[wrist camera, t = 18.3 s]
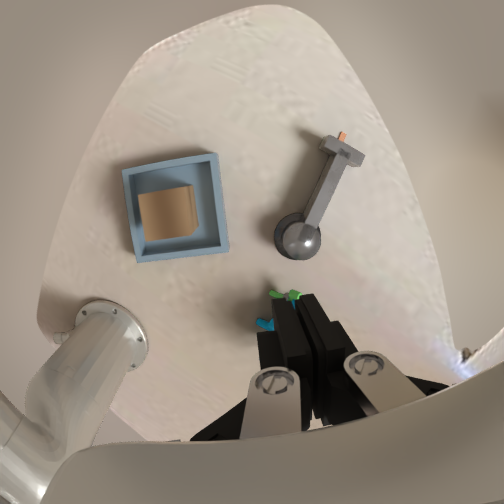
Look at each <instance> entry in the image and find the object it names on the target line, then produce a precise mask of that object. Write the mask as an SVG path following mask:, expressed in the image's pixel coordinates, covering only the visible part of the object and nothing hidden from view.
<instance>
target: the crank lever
mask: <svg viewBox="0 0 504 504" xmlns="http://www.w3.org/2000/svg"><path fill="white" fill-rule="evenodd" d="M319 149H321V150H322V151H324V152H326V153H328V154H330V157H329V159H328V161H327V163H326V165H325V168H324V170H323V172H322V174H321V176H320V178H319V181H318V183H317V185H316V187H315V189H314V191H313V193H312V196H311V198H310V200H309V202H308V204H307V206H306V208H305V211H304V213H303V215H302V217H301V219H300V220H295V221H292V222H290V223H289V224H287V225H286V226H285V228H284V229H283V231H282V234H281V242H282V245H283V247H284V248H285V250H286V251H287V253H288V254H289V255H290V256H291V257H292V258H294V259H296V260H307V259H310V258H312V257H313V256H314V255H315V254H316V253H317V252H318V250H319V248H320V245H321V237H320V234H319V232H318V231H317V227H318V225H319V223H320V221H321V219H322V217H323V214H324V212H325V210H326V208H327V206H328V204H329V202H330V200H331V197H332V195H333V193H334V191H335V189H336V187H337V184H338V182H339V180H340V178H341V176H342V173H343V171H344V169H345V167H346V165H347V164H348V165H350V166H351V167H360V166H361V164H362V162H363V159H364V157H365V155H364V154H363V153H361V152H359V151H358V150H356V149H354V148H353V147H351V146H349V145H347V144H346V143H344V142H342V141H340V140H339V139H337V138H335V137H333V136H331V135H328V136H326V137H323V140H322V142H321V144H320V146H319Z"/></svg>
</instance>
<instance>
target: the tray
mask: <svg viewBox="0 0 504 504" xmlns="http://www.w3.org/2000/svg"><path fill="white" fill-rule="evenodd" d="M122 177H123V185H124V193H125V200H126V206H127V213H128V219H129V225H130V230H131V236H132V241H133V246H134V251H135V256H136V261H137V263H142V262H150V261H158V260H167V259H175V258H183V257H192V256H200V255H208V254H217V253H225V252H229V240H228V232H227V225H226V217H225V209H224V201H223V193H222V184H221V176H220V168H219V159H218V154H217V153H210V154H203V155H197V156H190V157H184V158H178V159H173V160H167V161H162V162H157V163H151V164H147V165H142V166H137V167H132V168H128V169H123V170H122ZM191 185H193V187H194V195H195V202H196V209H197V216H198V222H199V226H198V227H197V229H196V230H195V231H194V232H193V233H192V235H190V236H183V237H176V238H169V239H162V240H155V241H148V242H146V241H145V235H144V230H143V224H142V218H141V212H140V206H139V200H138V195H140V194H145V193H151V192H156V191H161V190H167V189H173V188H179V187H185V186H191Z"/></svg>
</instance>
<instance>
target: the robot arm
mask: <svg viewBox="0 0 504 504" xmlns="http://www.w3.org/2000/svg"><path fill="white" fill-rule="evenodd" d="M272 312H273V323H274V331H266V332H258V333H257V341H258V349H259V358H260V367H261V370H260V371H259V372H257V373H256V374H255V375H254V376H253V377H252V378H251V381H250V384H249V390H248V395H247V398H245V399H244V400H243V401H241V402H240V403H239V404H237V405H236V406H235V407H233V408H232V409H231V410H229V411H228V412H227V413H225V414H224V415H223V416H221V417H220V418H218V419H217V420H216V421H214V422H213V423H211V424H210V425H208V426H207V427H206V428H204V429H203V430H201V431H200V432H198V433H197V434H196V435H194V436H193V437H192V438H191V439H190V441H188V442H181V440H180V439H179V440H172V441H165V442H159V441H139V442H119V443H109V444H104V445H97V446H92V444H93V441H94V439H95V437H96V434H97V432H98V430H99V428H100V426H101V424H102V422H103V419H104V417H105V415H106V413H107V411H108V409H109V407H110V405H111V403H112V401H113V399H114V397H115V395H116V393H117V391H118V389H119V387H120V385H121V383H122V381H123V379H124V377H125V375H126V373H127V372H129V371H133V370H135V369H137V368H138V367H139V366H140V365H141V364H142V363H143V361H144V360H145V358H146V355H147V352H148V340H147V336H146V333H145V331H144V329H143V327H142V326H141V324H140V323H139V321H138V320H137V319H136V318H135V317H134V315H133V314H131V313H130V312H129V311H128V310H127V309H125V308H123V307H122V306H120V305H118V304H116V303H113V302H110V301H106V300H96V301H92V302H90V303H87V304H86V305H85V306H84V307H82V309H81V310H80V311H79V312H78V314H77V316H76V319H75V328H74V329H73V330H72V331H68V333H65V332H55V333H54V335H53V339H54V342H55V343H56V344H62V345H61V346H60V347H59V348H58V349H57V350H56V351H55V353H54V354H53V355H52V356H51V357H50V358H49V360H48V361H47V362H46V363H45V364H44V365H43V366H42V367H41V369H40V370H39V371H38V372H37V373H36V374H35V375H34V377H33V378H32V379H31V381H30V383H29V385H28V387H27V391H26V397H25V411H26V416H25V415H24V414H22V413H21V412H20V411H19V410H18V409H17V408H16V407H15V406H14V405H13V404H12V403H11V402H10V401H9V400H8V398H7V397H6V396H5V395H4V394H3V393H2V392H1V391H0V504H504V360H503V361H501V362H499V363H497V364H495V365H494V366H492V367H490V368H488V369H485V370H483V371H482V372H480V373H478V374H476V375H474V376H472V377H470V378H468V379H466V380H463V381H461V382H459V383H456V384H452V386H451V387H449V386H448V385H445V384H442V383H437V382H432V381H427V380H423V379H418V378H414V377H410V376H406V375H404V374H403V373H402V372H401V371H400V370H399V369H398V368H397V367H396V366H394V365H393V364H392V363H391V362H390V361H389V360H388V359H387V358H386V357H385V356H383V355H382V354H380V353H377V352H373V351H360V352H358V350H357V349H356V347H355V345H354V344H353V342H352V341H351V339H350V338H349V336H348V335H347V333H346V332H345V330H344V328H343V327H342V325H341V324H340V322H339V321H332V322H330V320H329V319H328V317H327V315H326V314H325V312H324V310H323V309H322V307H321V305H320V304H319V302H318V300H317V299H316V297H315V296H314V294H306V295H300V296H299V299H296V300H295V309H294V306H293V304H292V301H291V300H289V301H286V298H285V297H284V298H277V299H272ZM312 409H313V412H314V416H315V418H316V419H319V418H321V421H322V424H323V426H327V425H331V424H332V425H333V426H328V427H323V428H318V429H313V430H308V429H309V427H310V420H312ZM307 430H308V431H307Z"/></svg>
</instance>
